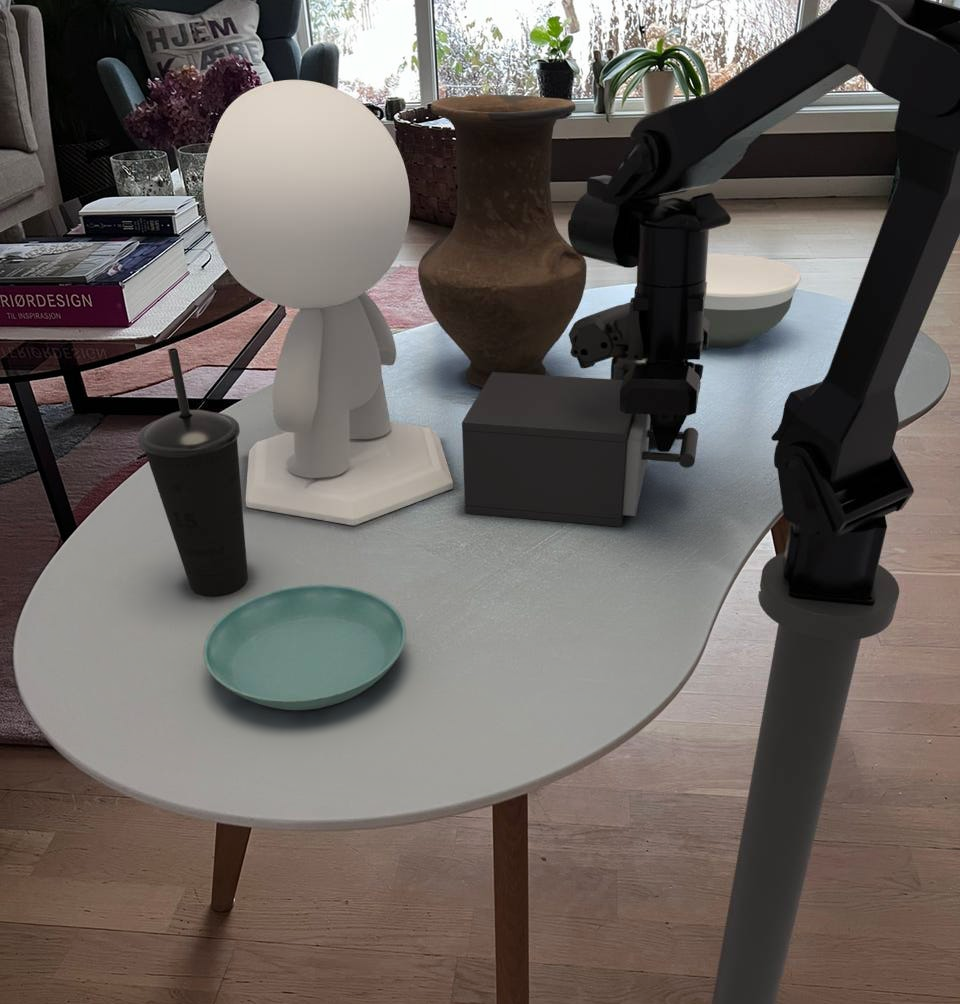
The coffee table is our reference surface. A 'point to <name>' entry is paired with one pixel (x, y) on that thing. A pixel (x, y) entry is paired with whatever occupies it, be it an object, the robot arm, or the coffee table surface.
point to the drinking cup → (200, 490)
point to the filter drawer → (650, 458)
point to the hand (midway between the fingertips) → (663, 450)
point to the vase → (503, 239)
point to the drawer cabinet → (546, 449)
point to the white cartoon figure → (321, 296)
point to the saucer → (305, 646)
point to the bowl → (746, 297)
